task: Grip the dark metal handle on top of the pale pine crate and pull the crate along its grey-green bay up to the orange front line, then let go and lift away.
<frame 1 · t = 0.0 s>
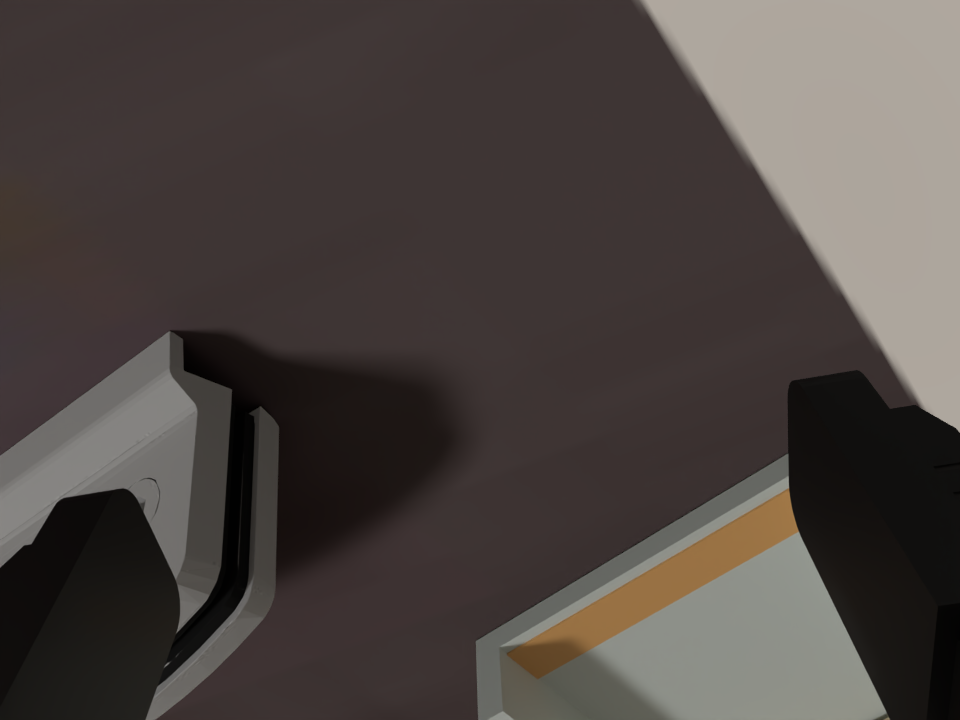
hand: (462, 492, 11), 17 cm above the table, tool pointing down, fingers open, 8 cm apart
hinge: (99, 507, 34), on the table
bay: (799, 705, 41), on the table
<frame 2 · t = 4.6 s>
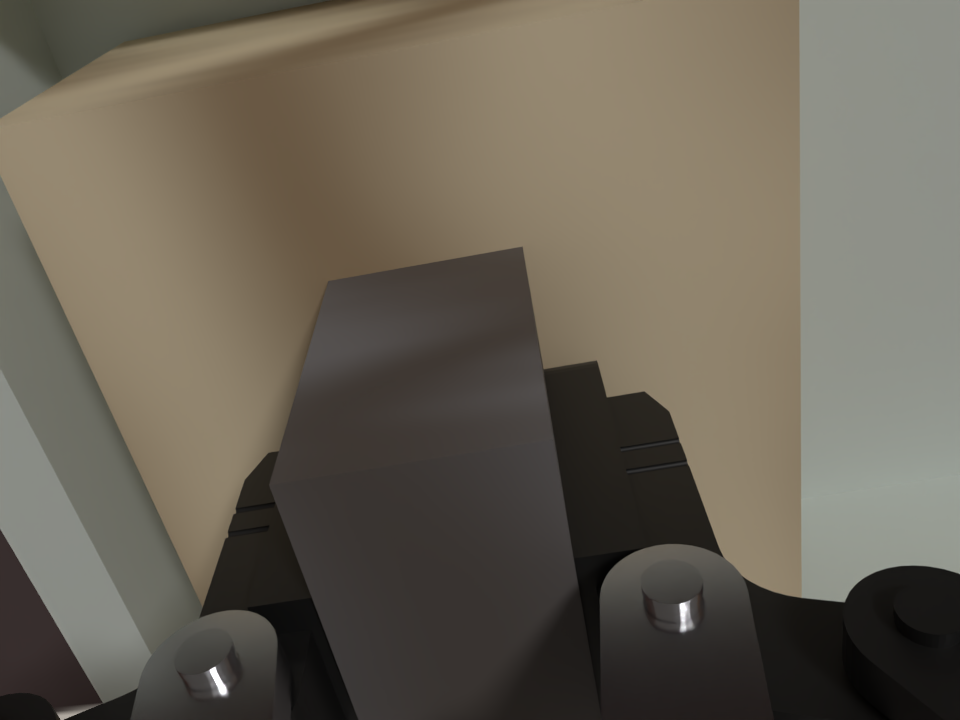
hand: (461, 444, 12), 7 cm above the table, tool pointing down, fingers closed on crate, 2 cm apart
bay: (770, 191, 17), on the table
crate: (463, 410, 13), point 6 cm above the table, slide at 0.0 cm, touching gripper
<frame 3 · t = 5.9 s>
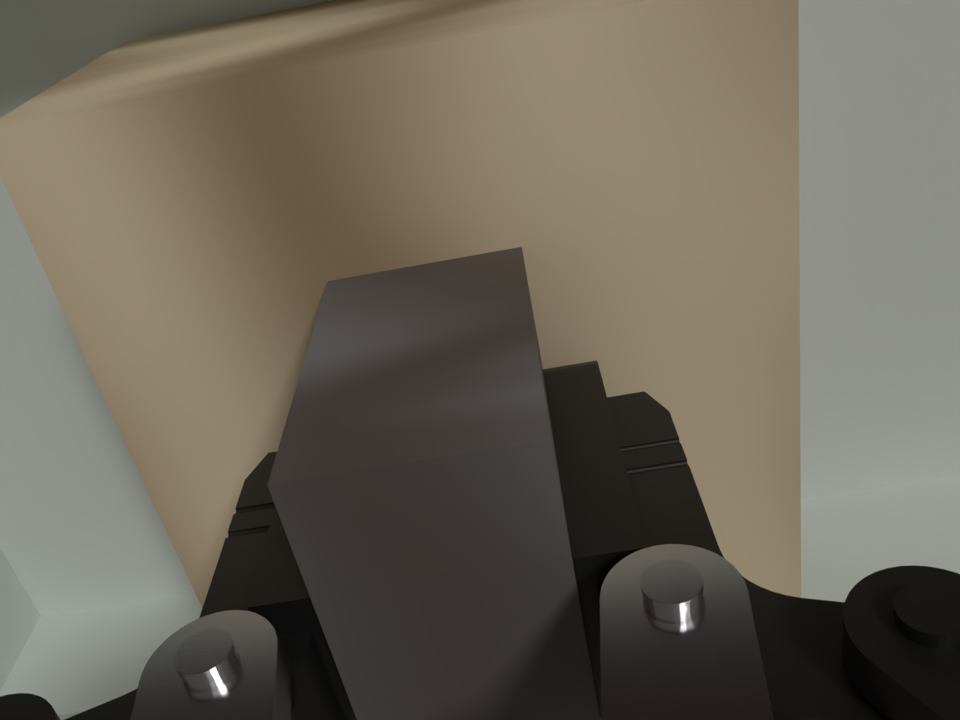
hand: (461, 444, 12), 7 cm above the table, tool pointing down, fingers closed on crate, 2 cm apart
bay: (488, 242, 18), on the table
crate: (462, 410, 13), point 6 cm above the table, slide at 5.5 cm, touching gripper
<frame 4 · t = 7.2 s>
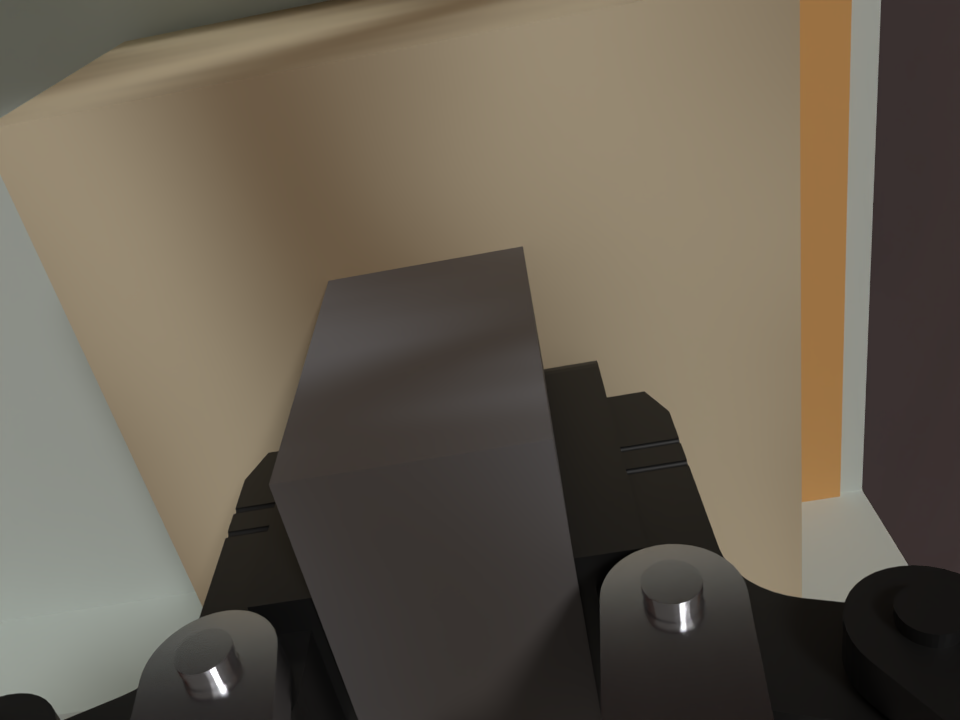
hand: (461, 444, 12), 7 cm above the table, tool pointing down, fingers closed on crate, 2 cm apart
bay: (191, 294, 18), on the table
crate: (463, 410, 13), point 6 cm above the table, slide at 11.5 cm, touching gripper
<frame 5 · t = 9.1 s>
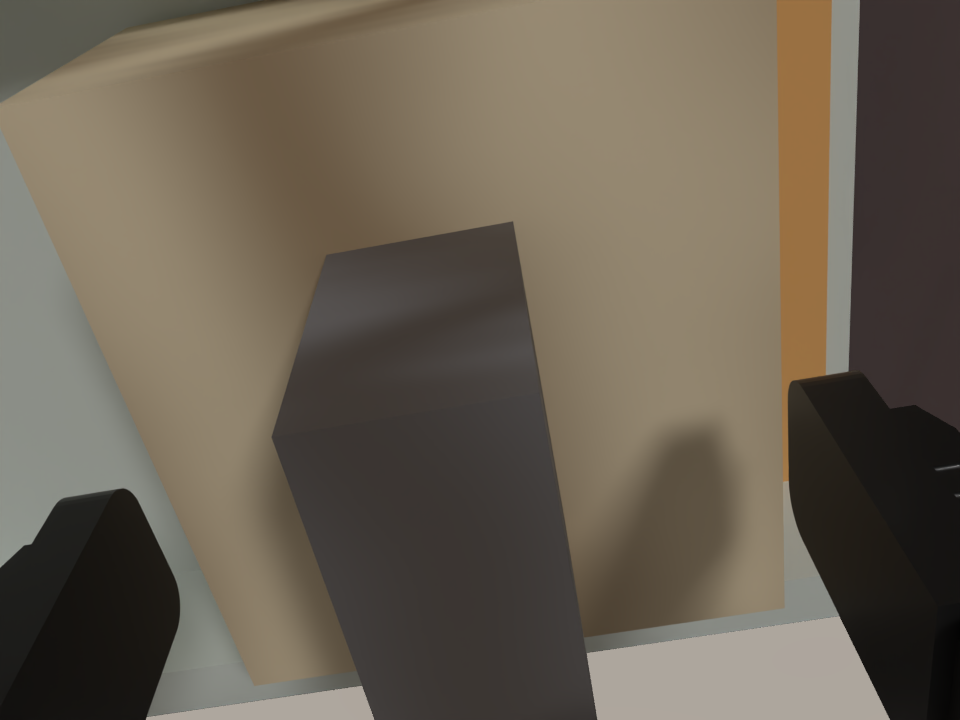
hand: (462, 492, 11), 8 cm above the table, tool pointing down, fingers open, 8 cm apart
bay: (191, 277, 18), on the table
crate: (456, 382, 13), point 6 cm above the table, slide at 11.5 cm
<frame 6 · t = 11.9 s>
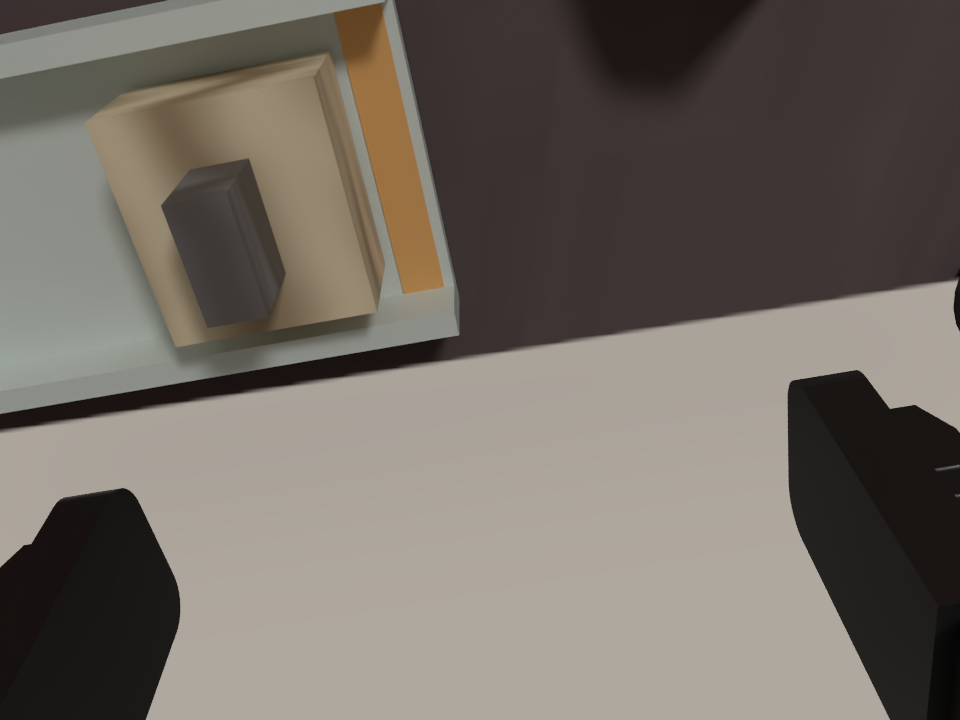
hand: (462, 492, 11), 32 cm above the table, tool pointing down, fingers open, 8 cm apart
bay: (154, 193, 42), on the table
crate: (241, 218, 37), point 6 cm above the table, slide at 11.5 cm
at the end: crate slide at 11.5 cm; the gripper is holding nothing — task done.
